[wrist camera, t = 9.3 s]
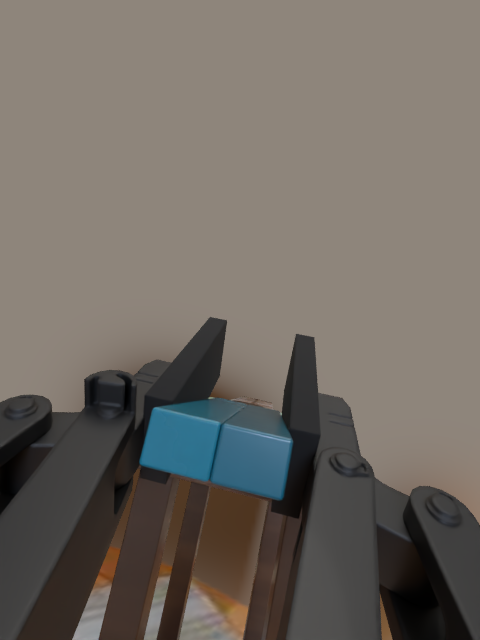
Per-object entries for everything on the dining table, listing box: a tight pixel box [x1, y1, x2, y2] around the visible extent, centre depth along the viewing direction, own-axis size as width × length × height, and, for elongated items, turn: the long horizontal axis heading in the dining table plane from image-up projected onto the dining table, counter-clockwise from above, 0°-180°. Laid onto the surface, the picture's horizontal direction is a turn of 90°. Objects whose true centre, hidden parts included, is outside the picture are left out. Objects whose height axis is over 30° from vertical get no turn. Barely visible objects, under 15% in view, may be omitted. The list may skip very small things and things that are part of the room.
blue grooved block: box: [140, 397, 293, 500], centre depth 19 cm, size 24×3×1 cm, turn 175°
